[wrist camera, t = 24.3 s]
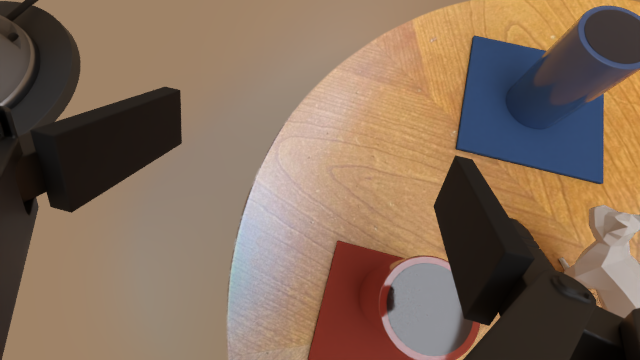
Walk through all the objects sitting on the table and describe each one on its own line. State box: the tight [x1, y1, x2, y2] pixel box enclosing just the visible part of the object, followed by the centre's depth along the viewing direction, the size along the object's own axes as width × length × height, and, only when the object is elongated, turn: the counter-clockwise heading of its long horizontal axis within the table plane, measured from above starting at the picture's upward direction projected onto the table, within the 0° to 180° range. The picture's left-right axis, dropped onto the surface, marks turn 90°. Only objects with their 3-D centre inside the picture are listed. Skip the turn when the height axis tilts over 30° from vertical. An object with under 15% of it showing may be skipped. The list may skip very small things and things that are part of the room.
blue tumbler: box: [506, 6, 640, 129], centre depth 32 cm, size 7×7×11 cm
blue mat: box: [456, 36, 604, 184], centre depth 38 cm, size 16×16×1 cm
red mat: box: [308, 241, 413, 360], centre depth 30 cm, size 18×13×1 cm
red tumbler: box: [359, 256, 480, 360], centre depth 26 cm, size 7×7×11 cm
